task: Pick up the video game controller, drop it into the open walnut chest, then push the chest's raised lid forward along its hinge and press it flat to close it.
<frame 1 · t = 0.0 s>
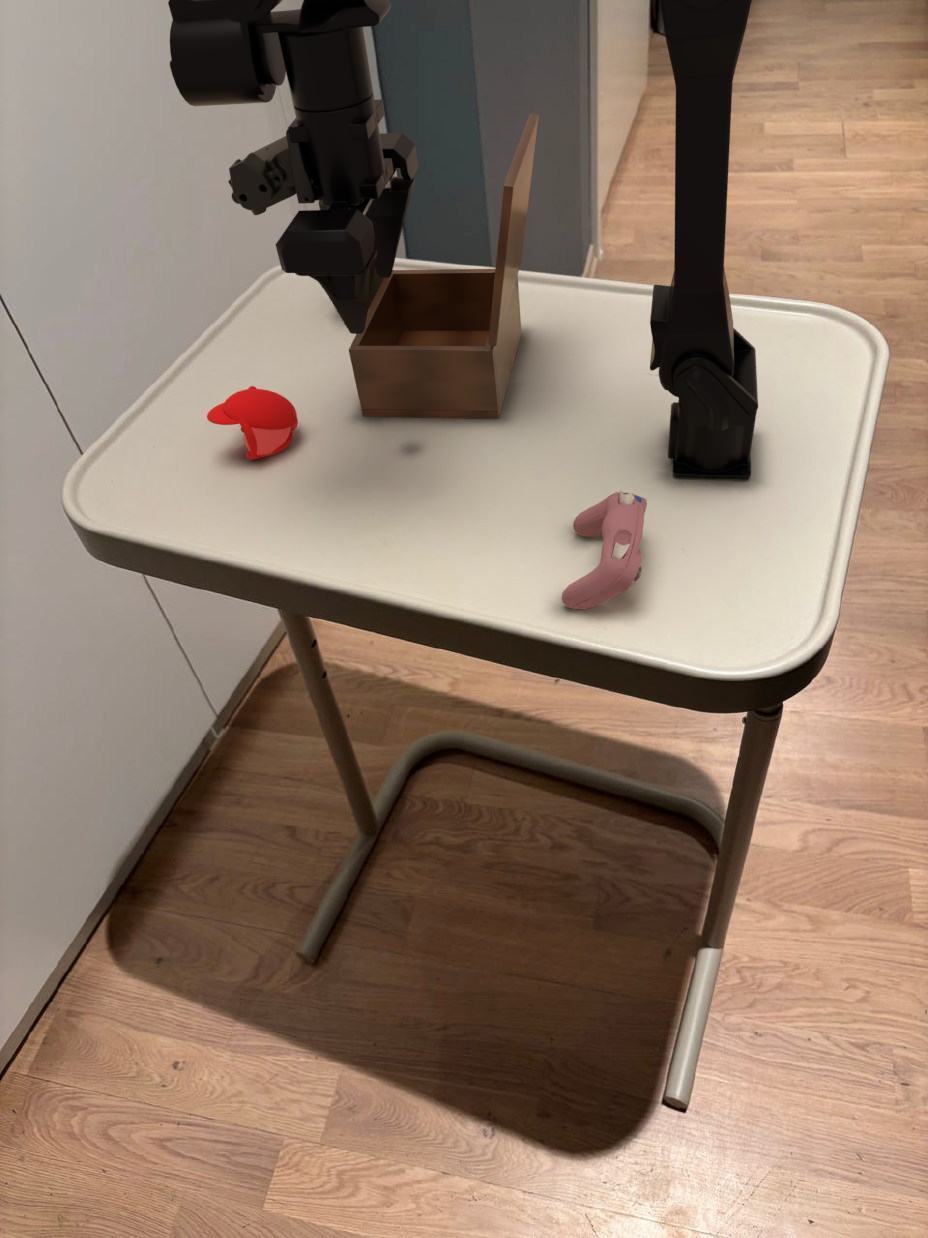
hand: (371, 303, 77), 15 cm above the table, tool pointing down, fingers open, 9 cm apart
lid: (513, 229, 84), point 15 cm above the table, hinge at 100.0°
chest: (445, 373, 96), on the table
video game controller: (605, 572, 74), on the table
candle: (369, 311, 107), on the table
cap: (263, 447, 91), on the table
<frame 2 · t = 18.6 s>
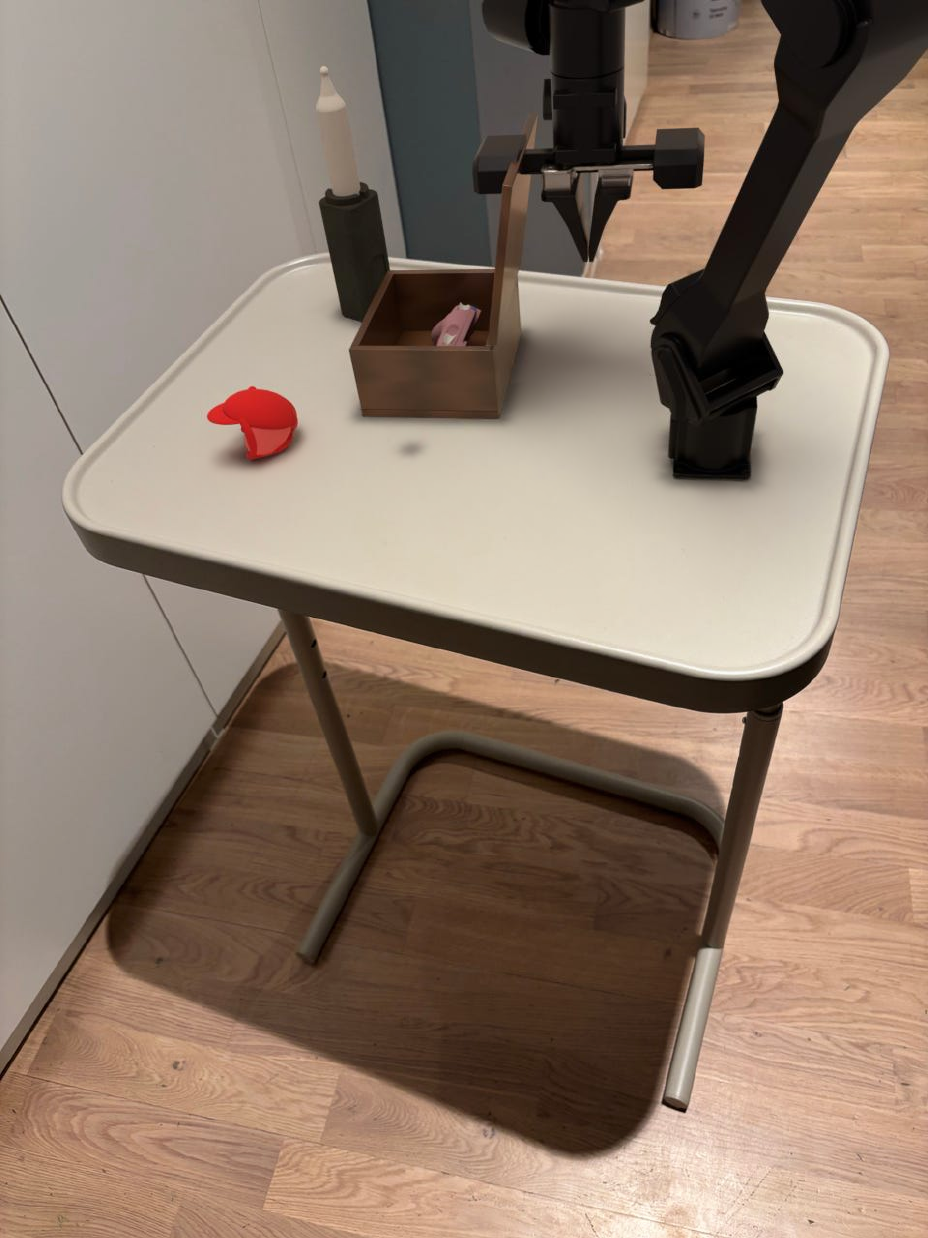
hand: (588, 259, 84), 12 cm above the table, tool pointing down, fingers closed
lid: (512, 229, 84), point 15 cm above the table, hinge at 99.6°, touching gripper
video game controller: (450, 369, 95), point 1 cm above the table, touching chest
everything else where it was.
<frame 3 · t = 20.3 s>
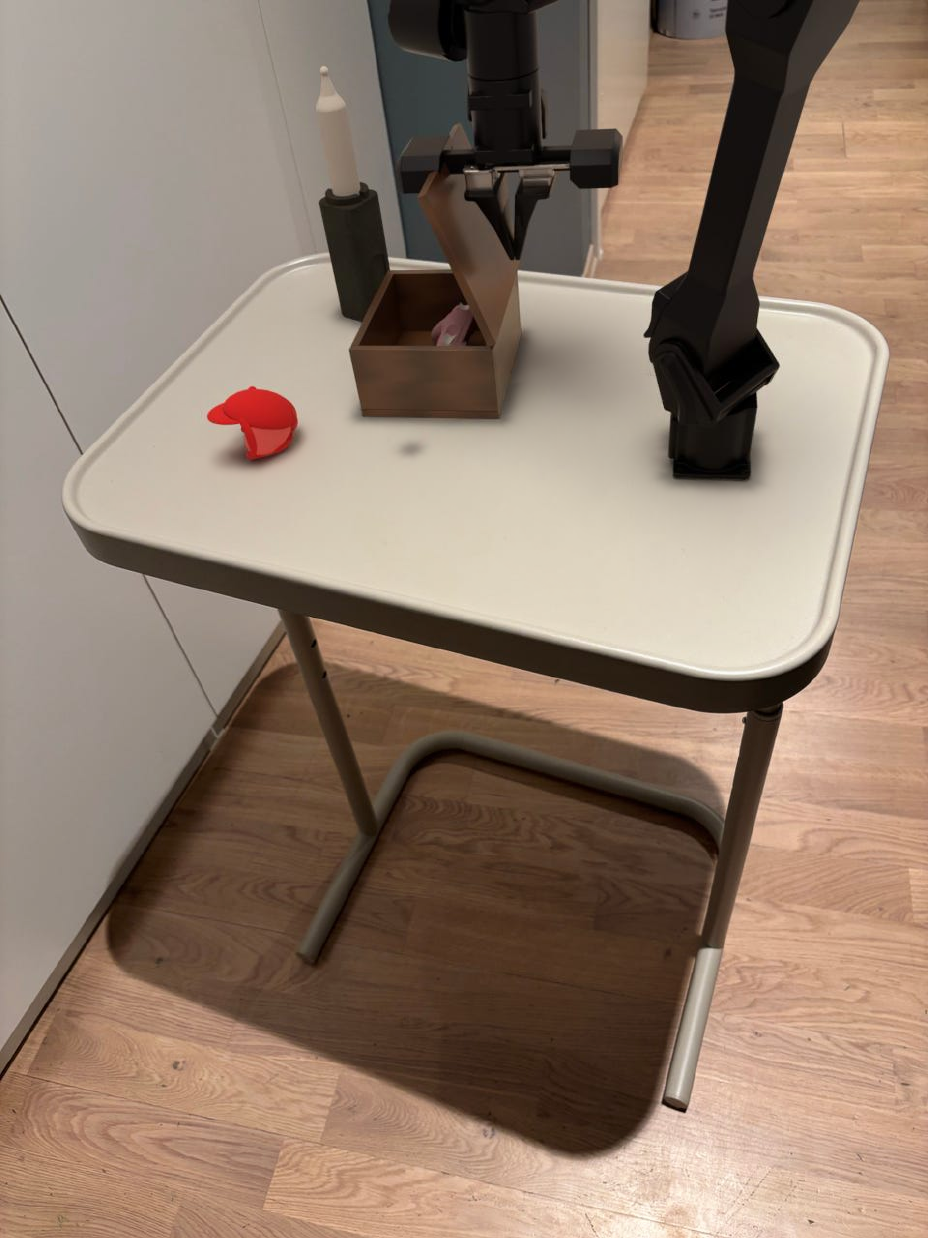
hand: (515, 258, 86), 12 cm above the table, tool pointing down, fingers closed
lid: (474, 233, 85), point 14 cm above the table, hinge at 70.7°, touching gripper
everything else where it was.
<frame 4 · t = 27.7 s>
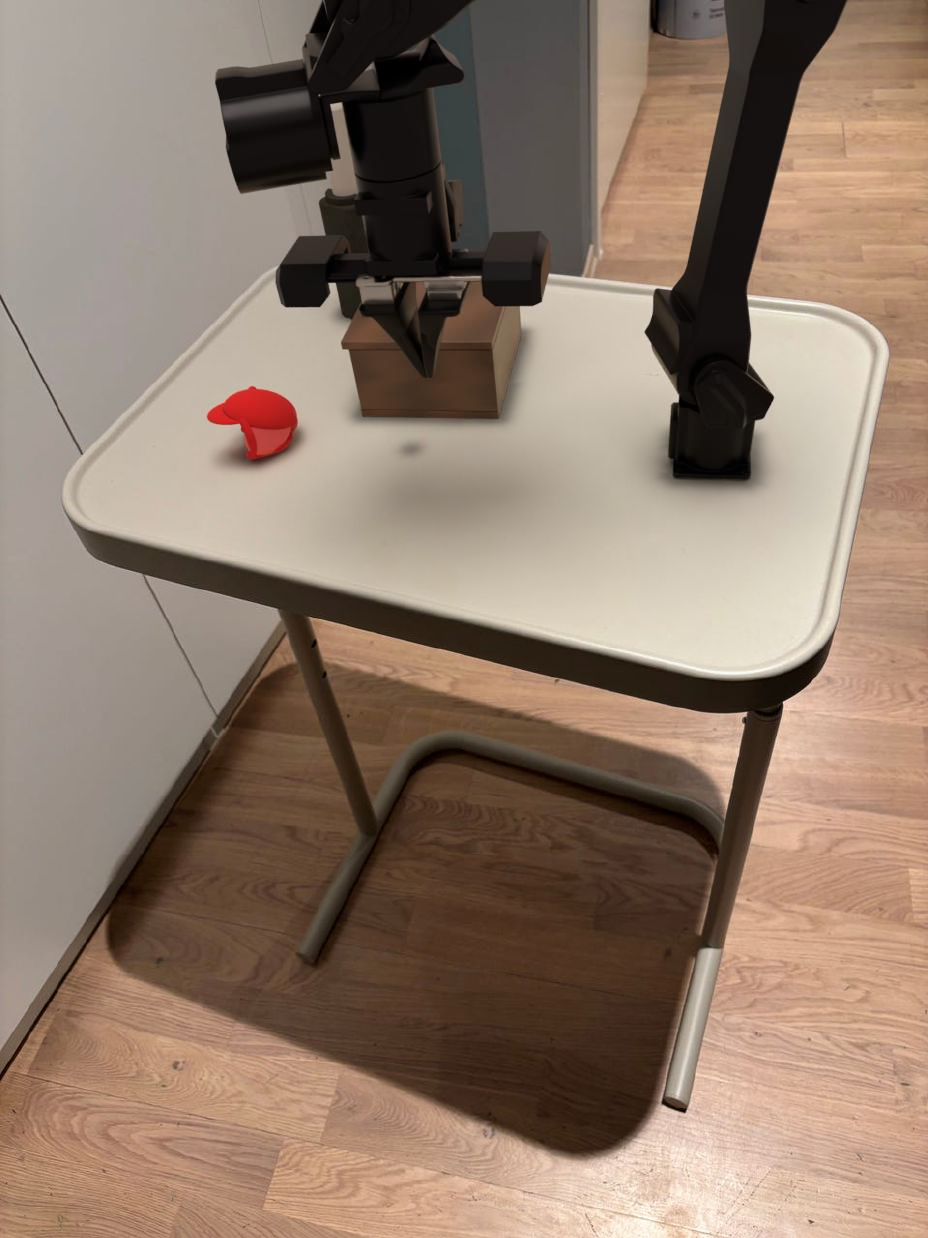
hand: (428, 375, 72), 13 cm above the table, tool pointing down, fingers closed
lid: (432, 303, 91), point 8 cm above the table, hinge at -0.2°, touching chest
everything else where it was.
at the end: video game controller inside the target area in the chest (0.6 cm from its centre), point 0.6 cm above the chest's base; lid at +0° (first picture: +100°) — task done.
